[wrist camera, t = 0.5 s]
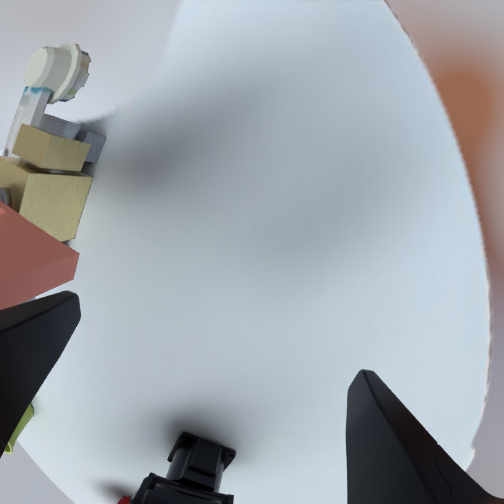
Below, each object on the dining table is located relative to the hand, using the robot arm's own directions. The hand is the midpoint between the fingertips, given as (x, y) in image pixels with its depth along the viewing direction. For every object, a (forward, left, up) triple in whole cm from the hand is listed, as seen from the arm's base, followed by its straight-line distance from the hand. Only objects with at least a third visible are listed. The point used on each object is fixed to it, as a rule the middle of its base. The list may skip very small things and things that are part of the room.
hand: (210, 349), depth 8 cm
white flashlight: (-1, +24, -16) cm, 29 cm away
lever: (-3, +14, -6) cm, 15 cm away
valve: (-3, +18, -15) cm, 24 cm away
